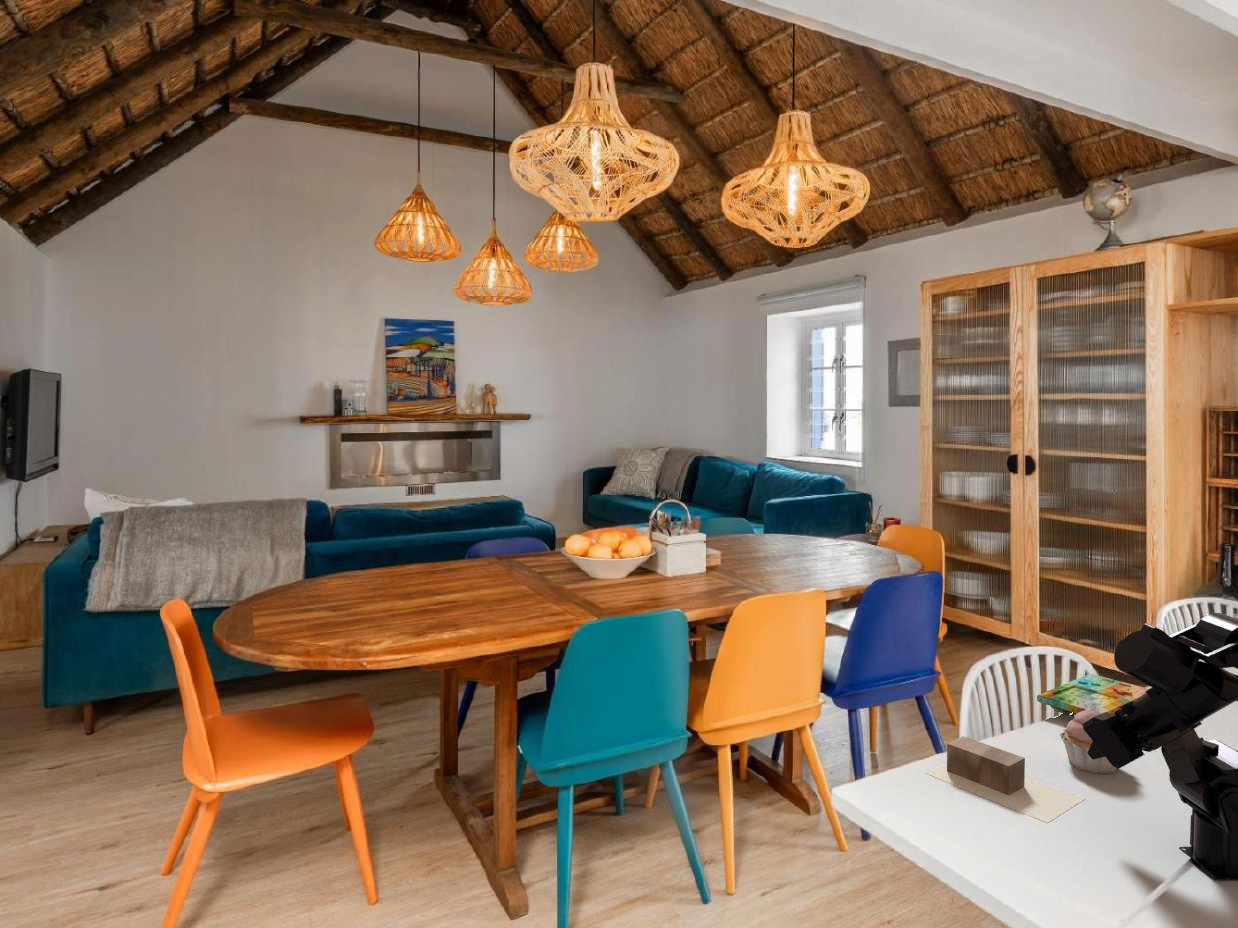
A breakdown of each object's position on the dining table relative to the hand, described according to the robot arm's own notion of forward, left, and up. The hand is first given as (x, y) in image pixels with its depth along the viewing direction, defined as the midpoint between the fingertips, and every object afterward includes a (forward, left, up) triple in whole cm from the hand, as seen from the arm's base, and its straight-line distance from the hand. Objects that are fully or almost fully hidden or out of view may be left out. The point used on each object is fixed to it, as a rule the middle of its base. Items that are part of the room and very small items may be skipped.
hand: (1091, 755), depth 110 cm
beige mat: (+10, +7, -10) cm, 16 cm away
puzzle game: (+39, -25, -10) cm, 48 cm away
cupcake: (+16, -10, -10) cm, 22 cm away
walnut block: (+8, +6, -7) cm, 12 cm away
